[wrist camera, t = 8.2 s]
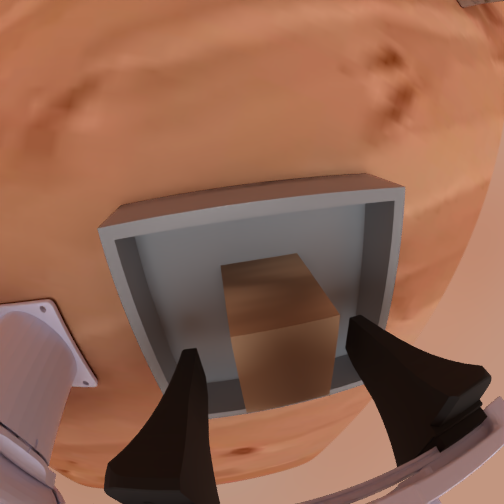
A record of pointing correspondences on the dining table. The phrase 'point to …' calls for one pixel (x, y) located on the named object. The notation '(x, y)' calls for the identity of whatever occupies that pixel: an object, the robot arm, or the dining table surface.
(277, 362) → the block
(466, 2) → the coffee box
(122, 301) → the bin
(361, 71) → the dining table surface
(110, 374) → the dining table surface
